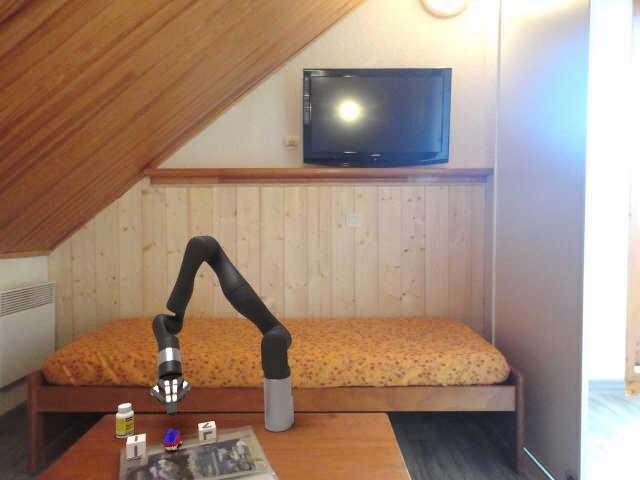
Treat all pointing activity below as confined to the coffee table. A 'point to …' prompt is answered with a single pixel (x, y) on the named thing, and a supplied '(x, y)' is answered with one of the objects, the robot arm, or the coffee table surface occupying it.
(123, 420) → the supplement bottle
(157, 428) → the coffee table surface
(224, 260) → the robot arm
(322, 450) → the coffee table surface
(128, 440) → the cream block marked 1
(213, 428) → the cream block marked 7
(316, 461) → the coffee table surface
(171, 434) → the toy car
